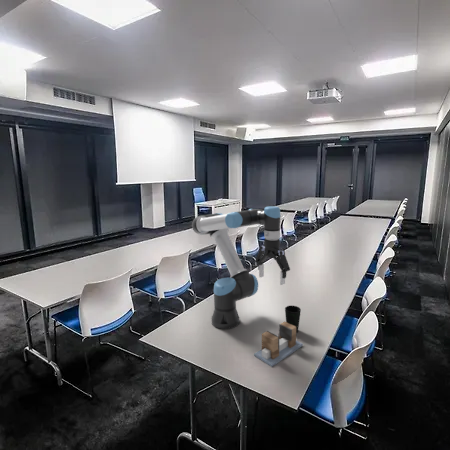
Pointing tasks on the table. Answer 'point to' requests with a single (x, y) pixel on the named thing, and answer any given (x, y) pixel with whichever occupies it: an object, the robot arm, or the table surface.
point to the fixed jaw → (288, 333)
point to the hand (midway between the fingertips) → (271, 280)
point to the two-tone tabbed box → (271, 343)
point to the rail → (283, 352)
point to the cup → (293, 316)
